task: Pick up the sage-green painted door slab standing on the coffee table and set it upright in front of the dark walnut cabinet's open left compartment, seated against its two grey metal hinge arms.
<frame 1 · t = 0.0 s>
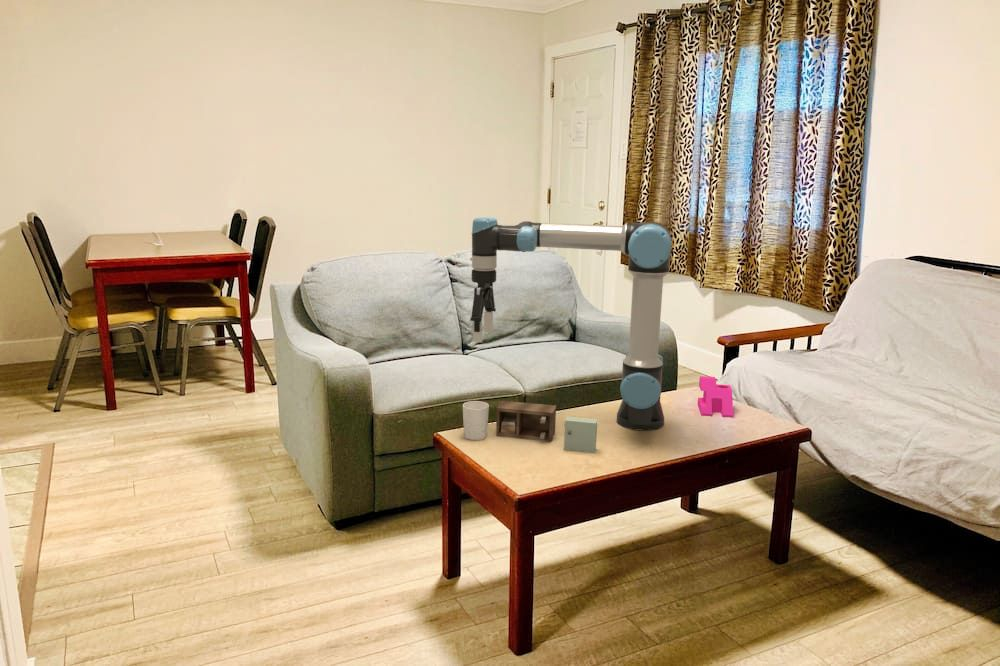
hand: (483, 336, 238), 28 cm above the table, fingers open, 13 cm apart
walnut cabinet: (525, 434, 234), on the table
sage door: (579, 449, 224), on the table
pink notched block: (714, 411, 259), on the table
white cup: (475, 437, 232), on the table
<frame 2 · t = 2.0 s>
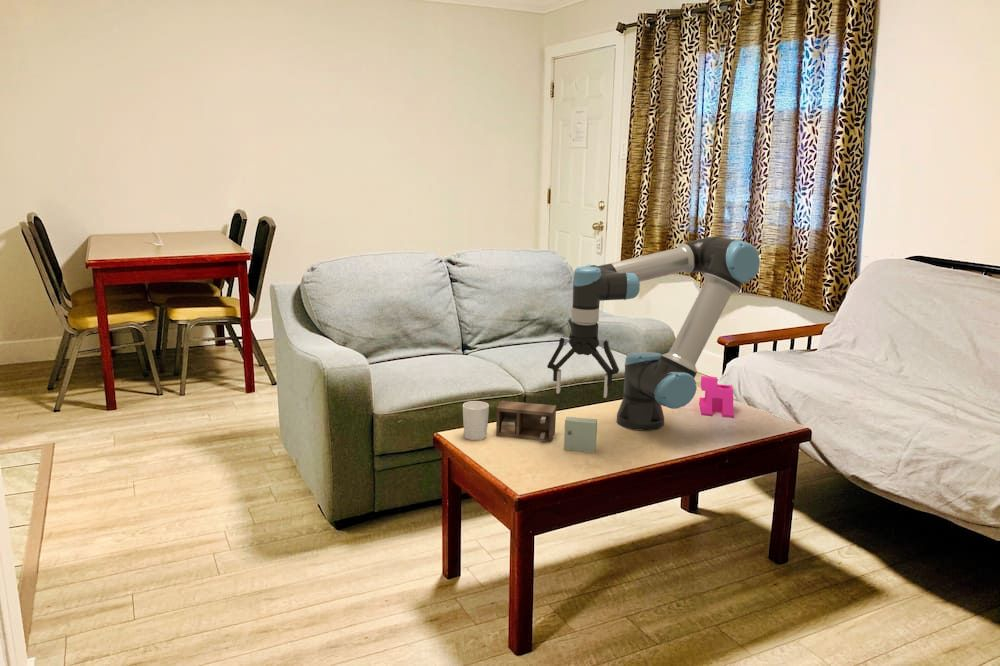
hand: (581, 394, 220), 17 cm above the table, fingers open, 13 cm apart
nothing on the table moved.
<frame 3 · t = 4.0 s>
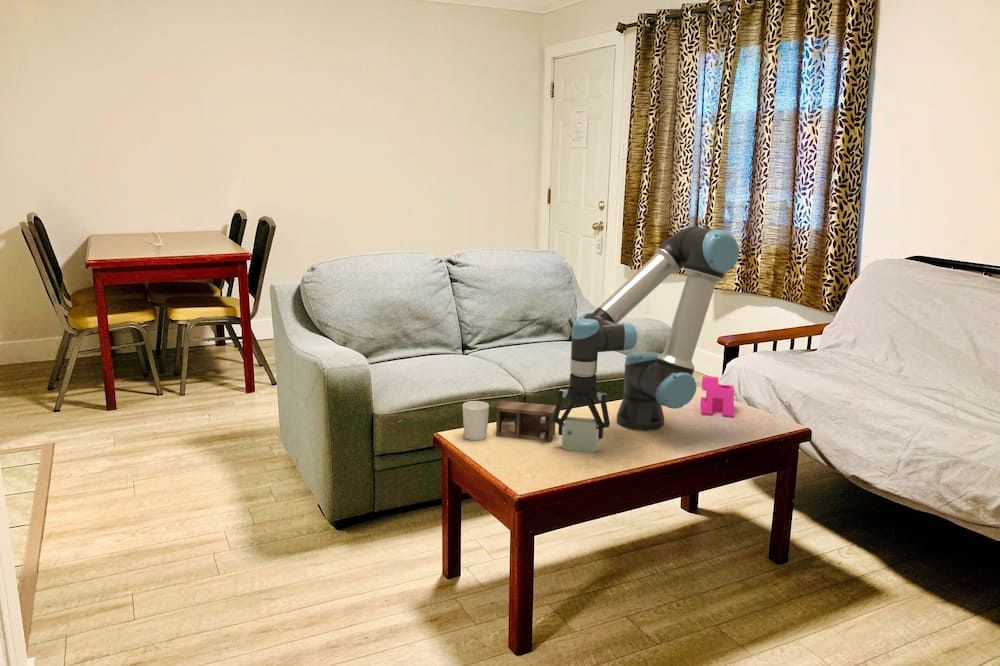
hand: (579, 447, 224), 1 cm above the table, fingers closed on sage door, 9 cm apart
sage door: (579, 448, 224), on the table, touching gripper
everything else where it was.
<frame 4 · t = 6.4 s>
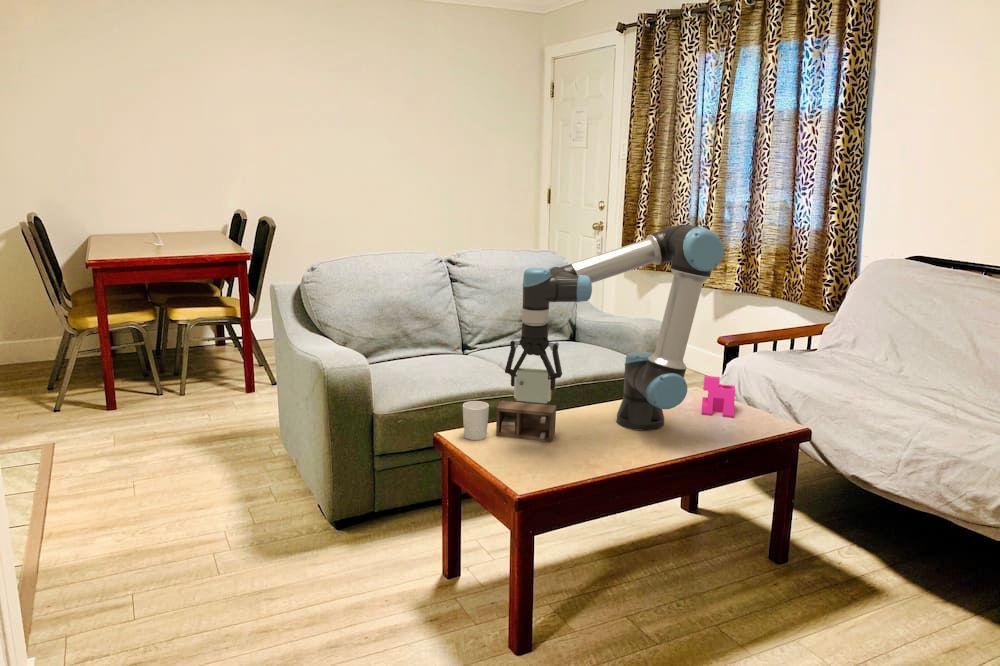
hand: (532, 398, 222), 15 cm above the table, fingers closed on sage door, 9 cm apart
sage door: (532, 400, 222), point 14 cm above the table, touching gripper
everything else where it was.
when the fingers open (1 cm above the table, at t = 8.8 s): sage door stays where it is, on the table.
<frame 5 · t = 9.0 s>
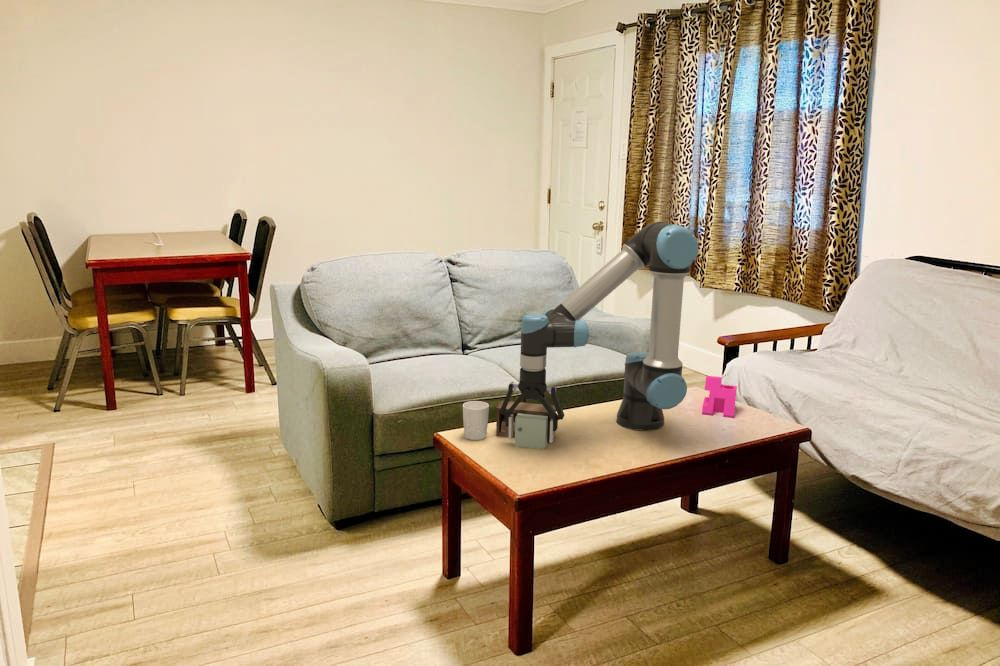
hand: (530, 439, 225), 2 cm above the table, fingers open, 11 cm apart
sage door: (530, 445, 226), on the table
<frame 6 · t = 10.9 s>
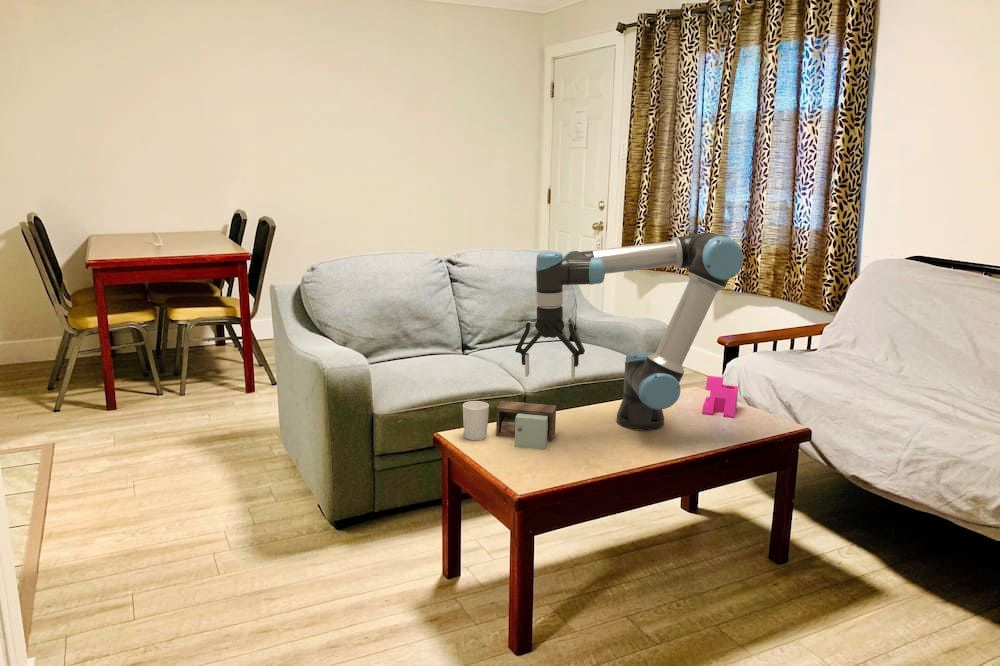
hand: (550, 376, 226), 20 cm above the table, fingers open, 13 cm apart
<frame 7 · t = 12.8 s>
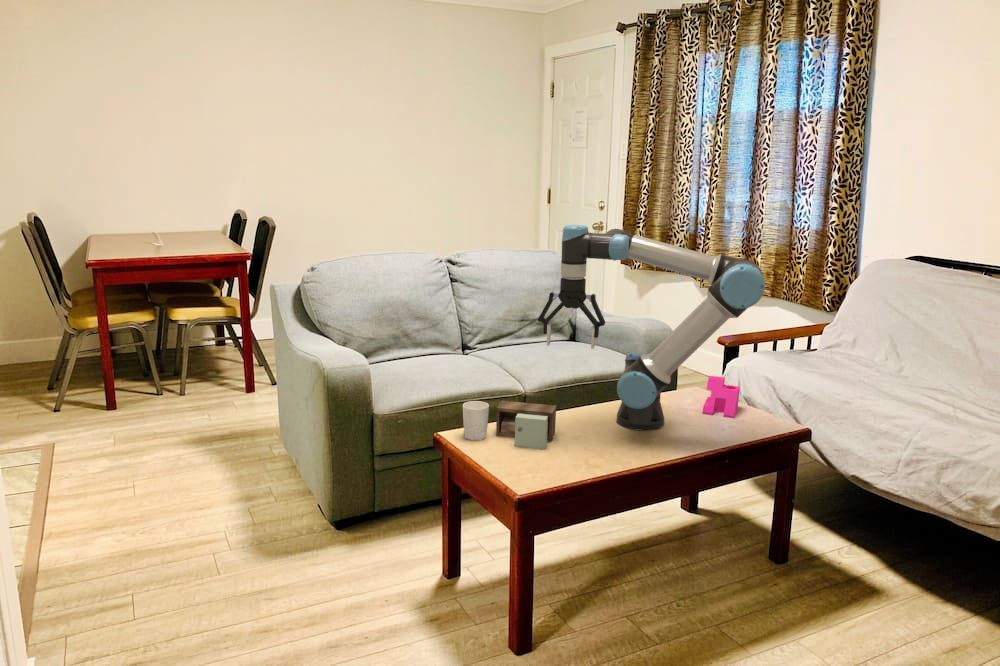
hand: (570, 346, 233), 27 cm above the table, fingers open, 13 cm apart
at the end: sage door 0.2 cm from the target spot, on the table; sage door tilted 0°; the gripper is holding nothing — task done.
